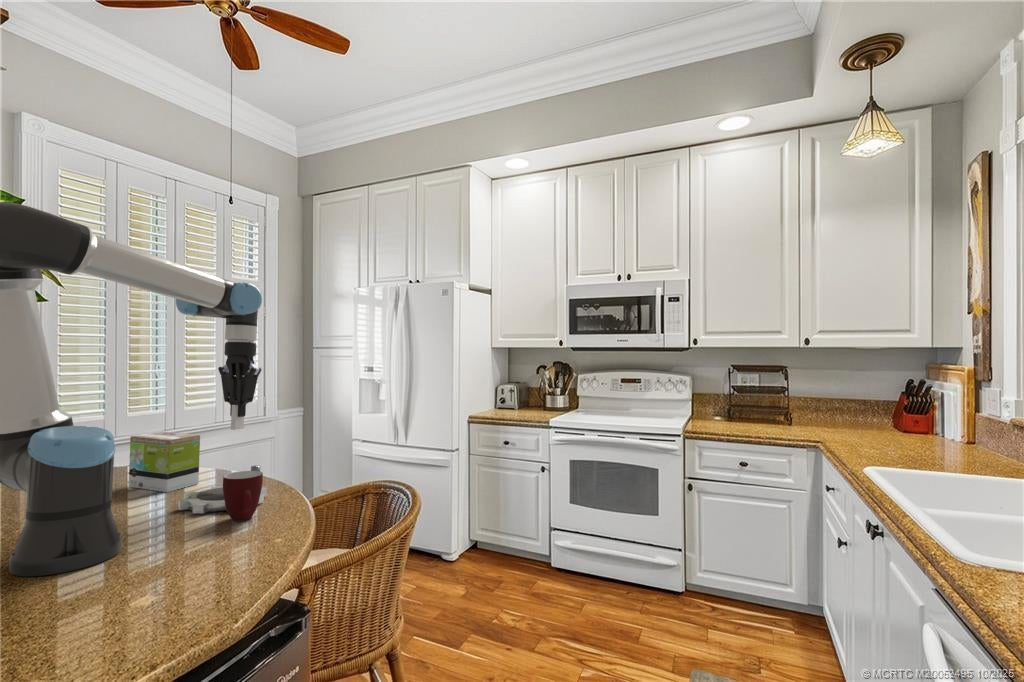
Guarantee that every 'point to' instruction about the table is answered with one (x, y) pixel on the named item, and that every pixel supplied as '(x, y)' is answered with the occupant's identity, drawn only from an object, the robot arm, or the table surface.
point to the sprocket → (211, 498)
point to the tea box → (164, 461)
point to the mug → (242, 493)
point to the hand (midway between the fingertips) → (237, 428)
